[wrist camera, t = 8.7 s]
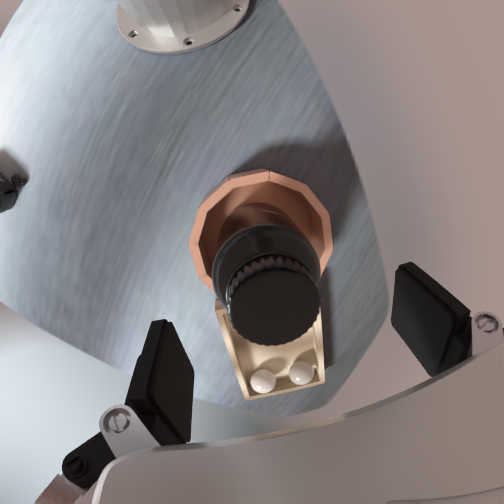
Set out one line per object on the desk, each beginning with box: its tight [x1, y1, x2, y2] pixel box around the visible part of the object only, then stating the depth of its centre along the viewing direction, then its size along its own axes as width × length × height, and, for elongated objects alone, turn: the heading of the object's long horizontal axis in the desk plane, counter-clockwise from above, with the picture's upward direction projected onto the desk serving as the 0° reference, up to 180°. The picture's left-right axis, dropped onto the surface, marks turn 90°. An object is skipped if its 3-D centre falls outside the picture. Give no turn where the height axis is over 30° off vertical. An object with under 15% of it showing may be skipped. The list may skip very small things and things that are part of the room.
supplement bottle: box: [212, 202, 321, 346], centre depth 19 cm, size 7×7×12 cm
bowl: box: [189, 168, 333, 293], centre depth 23 cm, size 11×11×4 cm
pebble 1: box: [250, 369, 276, 393], centre depth 30 cm, size 3×3×3 cm
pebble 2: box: [289, 361, 314, 385], centre depth 30 cm, size 3×3×3 cm
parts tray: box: [215, 299, 325, 400], centre depth 29 cm, size 14×10×2 cm
